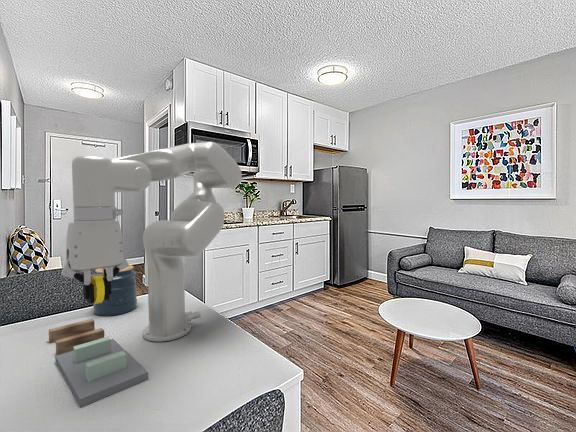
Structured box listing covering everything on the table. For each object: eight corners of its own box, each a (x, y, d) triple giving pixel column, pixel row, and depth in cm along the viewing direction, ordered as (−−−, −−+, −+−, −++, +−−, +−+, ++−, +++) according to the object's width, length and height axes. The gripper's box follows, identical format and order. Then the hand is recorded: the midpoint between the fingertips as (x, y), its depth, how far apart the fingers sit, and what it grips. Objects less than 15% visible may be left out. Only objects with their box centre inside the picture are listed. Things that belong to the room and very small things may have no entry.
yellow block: (85, 301, 66) (85, 274, 66) (99, 298, 68) (99, 272, 69) (93, 306, 62) (93, 277, 62) (108, 303, 64) (108, 275, 64)
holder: (92, 329, 87) (92, 318, 87) (104, 341, 80) (104, 330, 80) (49, 340, 80) (48, 329, 80) (57, 355, 73) (57, 343, 72)
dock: (113, 344, 78) (112, 327, 78) (148, 378, 63) (147, 357, 63) (55, 362, 69) (54, 343, 69) (80, 407, 54) (79, 383, 54)
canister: (143, 308, 104) (142, 257, 103) (101, 320, 94) (99, 263, 93) (128, 300, 112) (127, 253, 111) (88, 309, 103) (86, 258, 102)
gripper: (128, 213, 73) (130, 288, 74) (44, 216, 61) (48, 305, 62) (141, 214, 68) (142, 295, 69) (51, 217, 56) (55, 314, 57)
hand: (97, 299), depth 66 cm, fingers closed on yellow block, 2 cm apart
